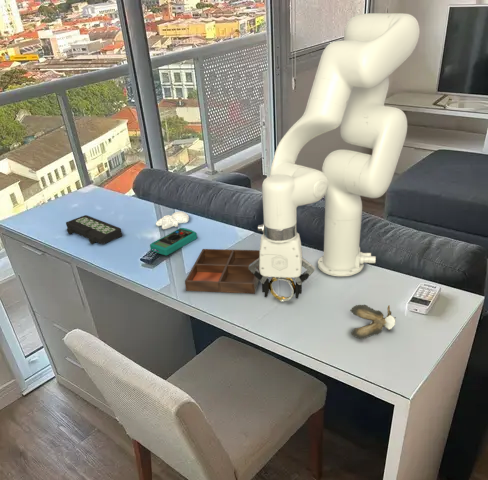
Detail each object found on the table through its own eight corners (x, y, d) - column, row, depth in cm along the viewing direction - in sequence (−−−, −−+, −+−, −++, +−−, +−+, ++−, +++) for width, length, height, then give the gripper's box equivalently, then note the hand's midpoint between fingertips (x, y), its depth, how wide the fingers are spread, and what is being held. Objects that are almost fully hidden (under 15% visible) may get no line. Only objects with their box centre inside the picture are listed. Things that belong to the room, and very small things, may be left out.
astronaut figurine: (152, 224, 169) (150, 215, 168) (182, 214, 175) (180, 205, 173) (164, 231, 164) (163, 223, 162) (194, 221, 169) (193, 212, 167)
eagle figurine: (381, 312, 115) (346, 311, 113) (395, 299, 109) (358, 298, 107) (387, 342, 112) (350, 342, 111) (402, 331, 106) (363, 331, 104)
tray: (265, 259, 143) (265, 250, 141) (254, 293, 128) (254, 284, 126) (203, 257, 146) (202, 248, 145) (186, 290, 132) (184, 281, 130)
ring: (267, 300, 125) (265, 273, 120) (273, 294, 127) (272, 267, 122) (291, 307, 122) (290, 279, 117) (297, 300, 124) (297, 273, 119)
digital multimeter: (199, 238, 157) (198, 230, 156) (166, 257, 148) (164, 248, 146) (182, 233, 161) (181, 225, 160) (150, 251, 152) (148, 243, 150)
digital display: (60, 222, 168) (85, 213, 173) (63, 231, 169) (87, 222, 175) (96, 237, 155) (121, 227, 161) (98, 247, 157) (123, 236, 163)
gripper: (240, 236, 112) (245, 301, 122) (317, 238, 108) (315, 304, 119) (246, 222, 118) (250, 285, 128) (319, 224, 114) (317, 288, 125)
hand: (282, 294), depth 123 cm, fingers closed on ring, 7 cm apart
